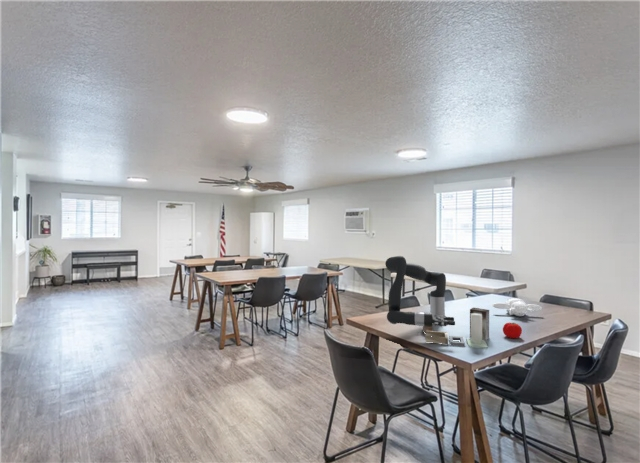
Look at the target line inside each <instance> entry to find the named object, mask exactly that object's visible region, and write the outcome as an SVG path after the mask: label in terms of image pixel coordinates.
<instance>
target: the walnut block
mask: <svg viewBox="0 0 640 463" xmlns="http://www.w3.org/2000/svg"><path fill="white" fill-rule="evenodd" d="M433 325H434V323H433V324H432V327H428V326H422V332H423V331H424V332H425V333H426V331H434V326H433Z"/></svg>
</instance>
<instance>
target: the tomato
mask: <svg viewBox="0 0 640 463" xmlns="http://www.w3.org/2000/svg"><path fill="white" fill-rule="evenodd" d="M502 333H503V334H504V336H506V337H507V338H510V339H518V338H520V337H521V335H522V333H523V330H522V327H521V325H520V324H518V323H516V322H506V323H505V324H503V326H502Z"/></svg>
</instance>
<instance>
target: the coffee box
mask: <svg viewBox="0 0 640 463" xmlns="http://www.w3.org/2000/svg"><path fill="white" fill-rule="evenodd" d="M471 313H478V314H482V340H485V341H488V339H489V338H490V309H485V308H479V307H472V308H470V309H469V338H471Z"/></svg>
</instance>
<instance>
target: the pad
mask: <svg viewBox="0 0 640 463" xmlns="http://www.w3.org/2000/svg"><path fill="white" fill-rule="evenodd" d="M466 343H467V345H468V347H470V348H480V349H489V348H488V347H489V346H488V344H487V343H486V340H482V344H474V343H471V338H466Z"/></svg>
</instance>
